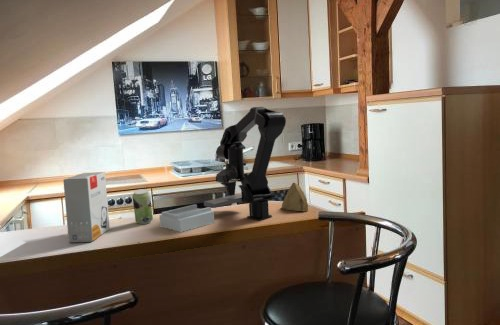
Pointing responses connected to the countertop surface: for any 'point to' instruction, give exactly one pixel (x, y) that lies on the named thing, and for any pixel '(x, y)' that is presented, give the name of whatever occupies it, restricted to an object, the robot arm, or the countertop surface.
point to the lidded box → (186, 218)
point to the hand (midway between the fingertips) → (238, 201)
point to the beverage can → (142, 206)
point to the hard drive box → (86, 206)
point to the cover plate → (223, 201)
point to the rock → (295, 199)
